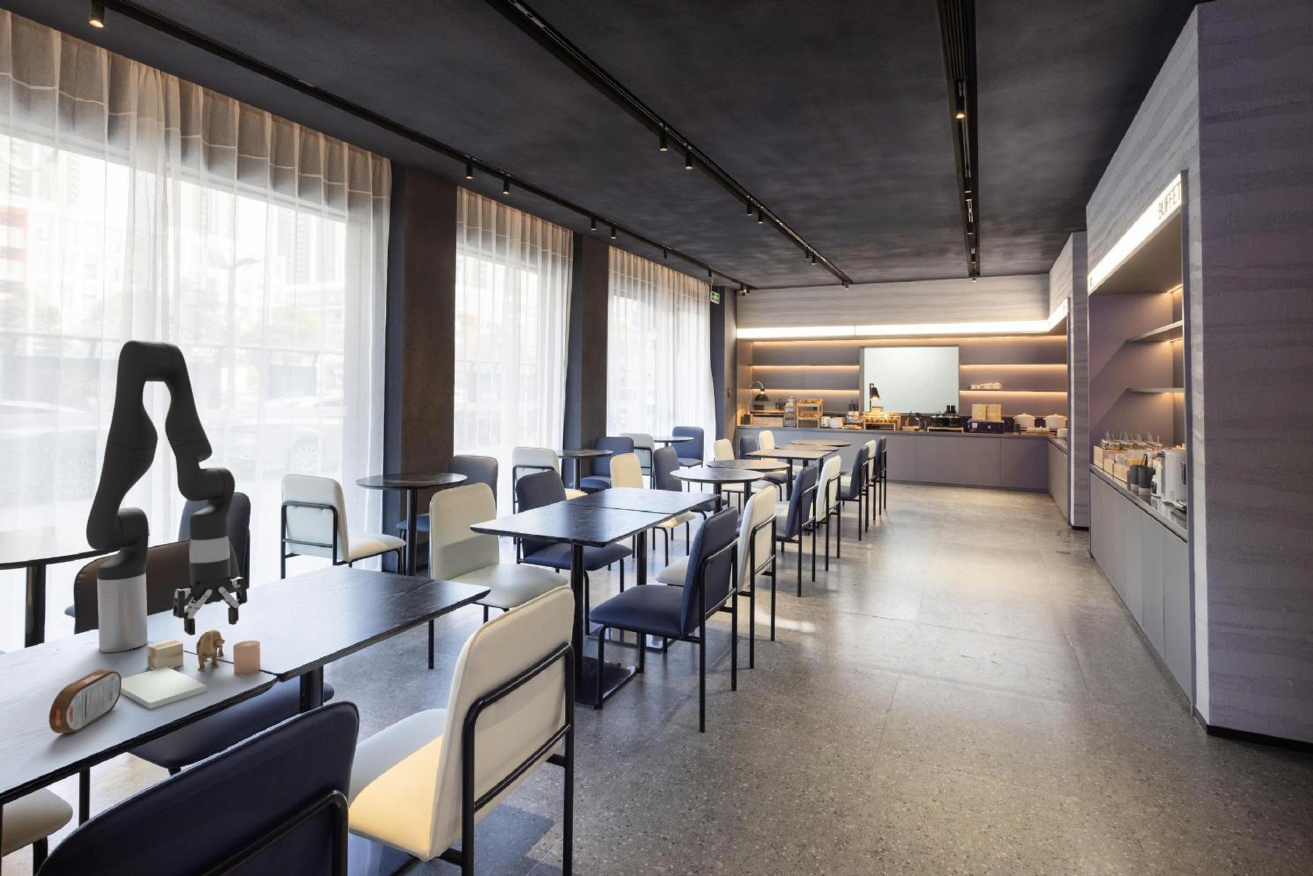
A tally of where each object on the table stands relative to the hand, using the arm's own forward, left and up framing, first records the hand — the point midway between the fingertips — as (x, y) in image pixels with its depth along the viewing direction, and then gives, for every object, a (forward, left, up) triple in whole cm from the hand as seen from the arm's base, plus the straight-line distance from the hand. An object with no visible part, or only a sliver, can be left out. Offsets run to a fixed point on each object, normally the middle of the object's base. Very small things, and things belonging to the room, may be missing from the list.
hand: (212, 629), depth 154 cm
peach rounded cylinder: (+10, +2, -8) cm, 13 cm away
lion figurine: (-1, 0, -9) cm, 9 cm away
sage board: (+5, -13, -8) cm, 16 cm away
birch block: (-8, -6, -8) cm, 13 cm away
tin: (+11, -26, -9) cm, 29 cm away
